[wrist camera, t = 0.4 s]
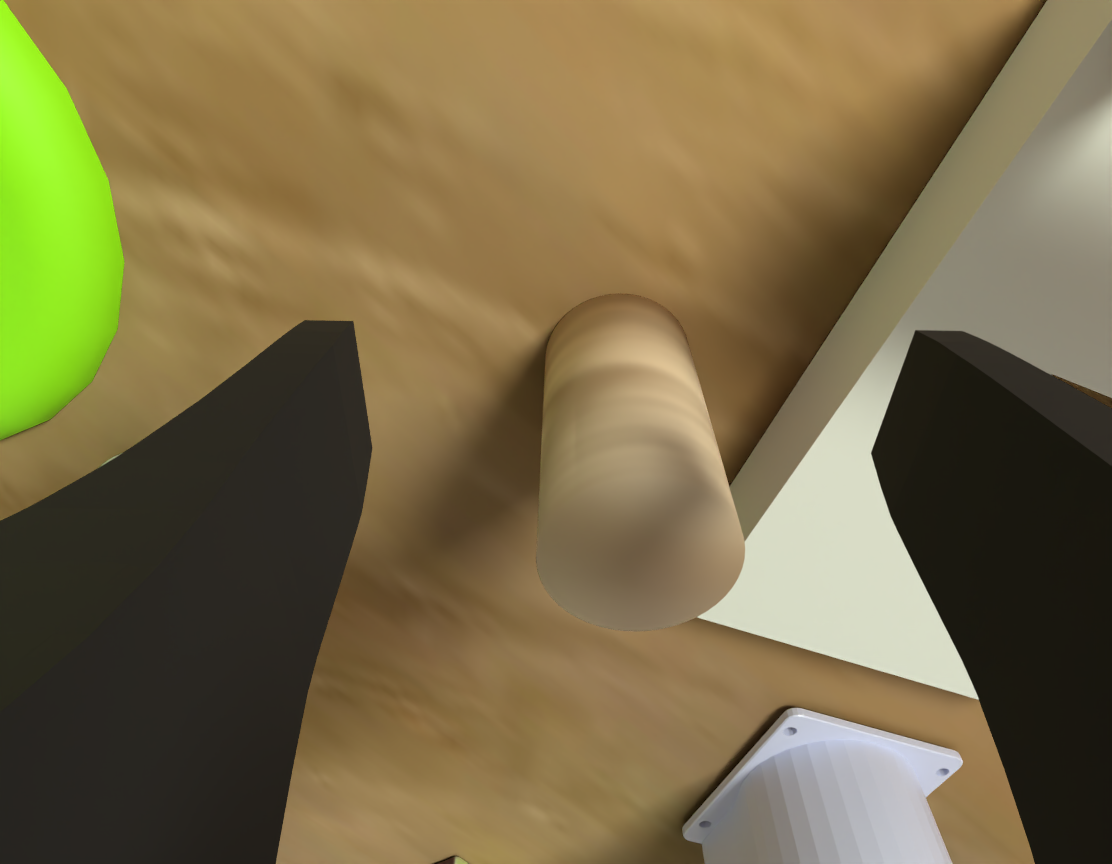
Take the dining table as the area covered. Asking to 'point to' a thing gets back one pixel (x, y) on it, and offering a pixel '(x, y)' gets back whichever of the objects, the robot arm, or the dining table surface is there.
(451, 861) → the protein box
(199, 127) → the dining table surface
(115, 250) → the wineglass
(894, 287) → the socket board
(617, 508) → the peg
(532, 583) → the dining table surface
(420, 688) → the dining table surface
